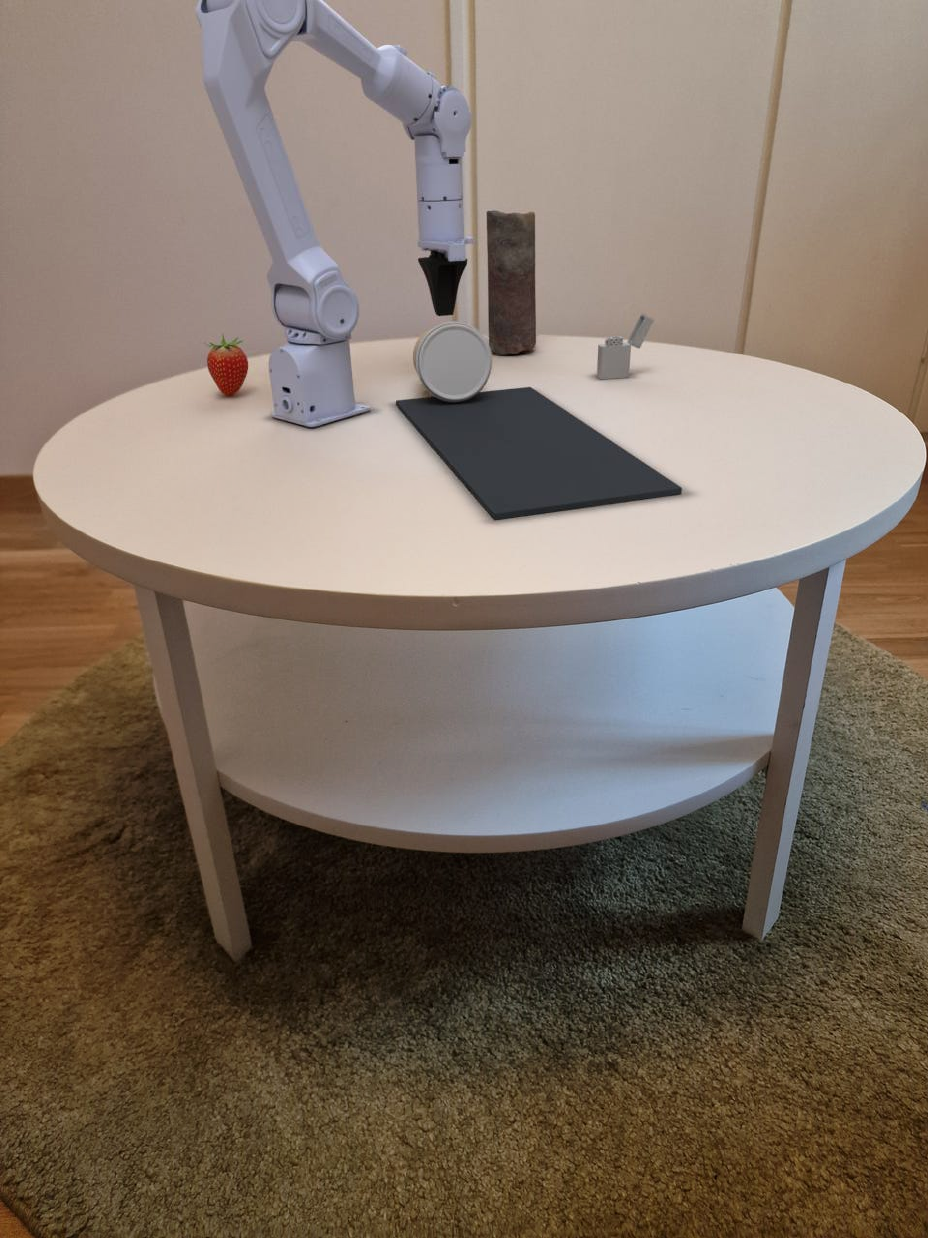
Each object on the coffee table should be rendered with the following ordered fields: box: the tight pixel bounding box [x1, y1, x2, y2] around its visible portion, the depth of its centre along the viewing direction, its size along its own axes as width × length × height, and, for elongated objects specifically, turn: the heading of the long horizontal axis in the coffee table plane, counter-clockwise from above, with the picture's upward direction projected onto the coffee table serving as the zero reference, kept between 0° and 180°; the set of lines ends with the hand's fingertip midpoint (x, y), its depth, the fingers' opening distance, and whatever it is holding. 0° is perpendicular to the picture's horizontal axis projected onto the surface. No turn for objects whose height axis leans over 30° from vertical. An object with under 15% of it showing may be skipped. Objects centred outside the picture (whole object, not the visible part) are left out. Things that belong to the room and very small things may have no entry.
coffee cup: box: [412, 321, 493, 402], centre depth 108 cm, size 9×9×12 cm
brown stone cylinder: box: [486, 210, 537, 356], centre depth 128 cm, size 8×7×20 cm
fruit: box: [204, 333, 249, 397], centre depth 112 cm, size 5×5×8 cm
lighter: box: [596, 313, 655, 380], centre depth 115 cm, size 7×2×8 cm, turn 100°
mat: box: [395, 386, 683, 521], centre depth 92 cm, size 40×18×1 cm, turn 16°
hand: (444, 314), depth 112 cm, fingers closed
